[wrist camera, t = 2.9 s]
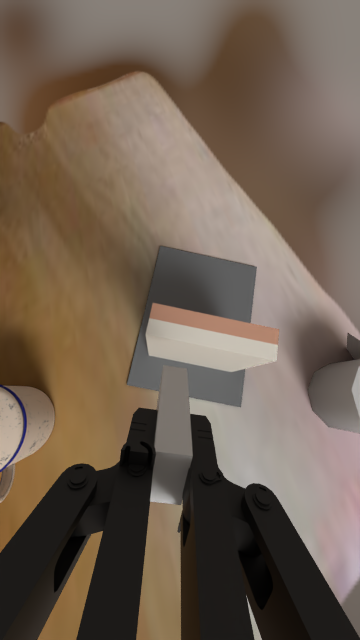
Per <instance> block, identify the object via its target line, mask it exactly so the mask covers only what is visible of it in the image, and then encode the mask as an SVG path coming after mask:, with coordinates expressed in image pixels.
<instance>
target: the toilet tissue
mask: <svg viewBox="0 0 360 640" xmlns="http://www.w3.org/2000/svg"><path fill="white" fill-rule="evenodd" d="M346 348H347V349H348V351H349V352H350V354H351V355H352V357H353V358H354V359H355V360H352V361H345V362H339V363H332V364H329V365H327V366H325V367H323V368H321V369H319V370H317V371H316V372H314V374H313V377H312V380H311V382H310V385H309V388H308V393H309V397H310V401H311V405H312V409H313V412H314V413H315V414H316V415H317V416H318V417H319V418H320V419H321V420H322V421H323V422H324V423H325V424H326V425H327V426H328V427H331V428H336V429H341V430H345V431H350V432H355V433H360V340H358V339H357V338H355V337H354V336H352V335H350V334H349V333H348V336H347V347H346Z"/></svg>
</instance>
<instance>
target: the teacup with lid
mask: <svg viewBox="0 0 360 640" xmlns="http://www.w3.org/2000/svg"><path fill="white" fill-rule="evenodd" d="M54 421H55V412H54V407H53V404H52V402H51V400H50V399H49V397H48V396H47V395H46V394H45V393H43V392H42V391H40V390H39V389H36V388H33V387H28V386H4V385H0V472H1V471H2V477H1V482H0V503H1V502H2V501H3V500H4V499H5V497H6V496H7V494H8V493H9V491H10V488H11V486H12V483H13V480H14V474H15V463H16V462H18V461H19V460H21V459H23V458H25V457H27V456H29V455H31V454H33V453H34V452H36V451H37V450H38V449H39V448H41V447H42V446H43V445H44V443H45V442H46V441H47V439H48V438H49V436H50V434H51V432H52V430H53V426H54Z"/></svg>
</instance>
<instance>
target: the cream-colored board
mask: <svg viewBox="0 0 360 640" xmlns="http://www.w3.org/2000/svg"><path fill="white" fill-rule="evenodd" d="M278 336H279V329H275V328H270V327H265V326H261V325H256V324H251V323H246V322H242V321H237V320H232V319H227V318H223V317H218V316H213V315H209V314H204V313H199V312H194V311H190V310H185V309H180V308H176V307H171V306H166V305H161V304H157V303H153V304H152V308H151V313H150V317H149V321H148V326H147V330H146V341H147V347H148V354H149V356H154V357H159V358H164V359H169V360H174V361H179V362H184V363H189V364H194V365H198V366H203V367H208V368H213V369H218V370H223V371H228V372H234V371H238V370H242V369H246V368H250V367H254V366H259V365H263V364H267V363H271V362H275V361H277V349H278Z"/></svg>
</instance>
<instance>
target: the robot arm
mask: <svg viewBox="0 0 360 640" xmlns="http://www.w3.org/2000/svg"><path fill="white" fill-rule="evenodd" d="M182 498H183V510H182V514H181V518H180V522H179V526H178V532H179V533H180V531H181V640H254V635H253V630H252V625H251V619H250V614H249V608H248V603H247V598H248V601H249V604H250V607H251V610H252V612H253V615H254V618H255V621H256V624H257V626H258V629H259V632H260V635H261V638H262V640H360V638H359V636H358V635H357V633H356V631H355V629H354V628H353V626H352V624H351V623H350V621H349V619H348V617H347V616H346V615H345V612H344V611H343V609H342V607H341V606H340V604H339V602H338V600H337V599H336V597H335V595H334V594H333V592H332V590H331V589H330V587H329V585H328V583H327V582H326V580H325V578H324V577H323V575H322V573H321V572H320V570H319V568H318V566H317V565H316V563H315V561H314V560H313V558H312V556H311V555H310V553H309V551H308V550H307V548H306V546H305V544H304V543H303V541H302V539H301V538H300V536H299V534H298V533H297V531H296V529H295V527H294V526H293V524H292V522H291V521H290V519H289V517H288V516H287V514H286V512H285V510H284V509H283V507H282V505H281V504H280V502H279V500H278V499H277V497H276V496H275V495H274V493H273V492H272V491H271V490H270V489H268V488H267V487H266V486H263V485H261V484H255V483H253V484H250V485H248V486H247V488H246V489H245V488H242V487H240V486H238V485H236V484H233V483H232V482H230V481H228V480H227V479H226V478H225V477H224V476H223V473H222V472H221V471H220V469H219V468H218V464H217V458H216V453H215V447H214V441H213V435H212V429H211V423H210V422H209V420H208V419H207V417H206V416H202V415H194V414H190V406H189V391H188V376H187V369H186V368H179V367H173V366H166V365H163V371H162V377H161V383H160V389H159V395H158V401H157V409H156V410H152V409H145V408H138V409H137V411H136V412H135V413H134V414H133V418H132V422H131V426H130V430H129V434H128V438H127V442H126V443H125V444H124V446H123V447H122V449H121V456H120V461H119V462H118V463H117V464H116V465H115V466H113V467H111V468H108V469H104V470H99V471H96V470H95V469H94V467H92V466H90V465H89V464H82V463H81V464H76V465H73V466H71V467H69V468H67V469H66V470H65V471H64V472H63V473H62V474H61V475H60V477H59V478H58V479H57V480H56V482H55V483H54V484H53V486H52V487H51V488H50V490H49V491H48V492H47V493H46V495H45V496H44V497H43V499H42V500H41V501H40V502H39V504H38V505H37V506H36V508H35V509H34V510H33V511H32V513H31V514H30V515H29V517H28V518H27V519H26V520H25V522H24V523H23V524H22V526H21V527H20V528H19V529H18V531H17V532H16V533H15V535H14V536H13V537H12V539H11V540H10V541H9V542H8V544H7V545H6V546H5V548H4V549H3V550H2V551H1V553H0V640H37V639H38V637H39V635H40V633H41V631H42V629H43V627H44V625H45V623H46V621H47V619H48V617H49V615H50V613H51V611H52V610H53V608H54V606H55V604H56V602H57V600H58V598H59V596H60V594H61V592H62V590H63V588H64V586H65V584H66V582H67V580H68V578H69V576H70V574H71V573H72V571H73V569H74V567H75V565H76V563H77V561H78V559H79V557H80V555H81V553H82V551H83V549H84V547H85V545H86V543H87V541H88V539H89V537H90V536H91V534H93V533H96V532H100V531H103V534H102V538H101V542H100V546H99V550H98V554H97V558H96V562H95V566H94V571H93V575H92V579H91V583H90V587H89V591H88V595H87V599H86V603H85V607H84V611H83V615H82V619H81V623H80V627H79V631H78V635H77V639H76V640H136V634H137V625H138V615H139V605H140V595H141V585H142V575H143V565H144V555H145V546H146V536H147V526H148V516H149V506H150V501H151V502H160V503H169V504H178V505H181V502H182ZM246 595H247V598H246Z"/></svg>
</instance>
